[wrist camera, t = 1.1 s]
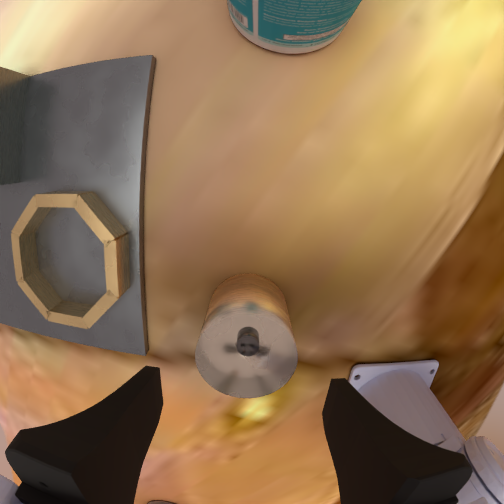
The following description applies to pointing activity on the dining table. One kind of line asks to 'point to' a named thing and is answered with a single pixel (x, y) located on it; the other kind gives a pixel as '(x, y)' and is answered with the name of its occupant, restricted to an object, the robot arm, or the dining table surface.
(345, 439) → the robot arm
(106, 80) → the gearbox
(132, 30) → the dining table surface
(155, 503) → the lotion bottle
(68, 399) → the dining table surface
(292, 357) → the spout can
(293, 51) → the pill bottle
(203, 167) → the dining table surface
